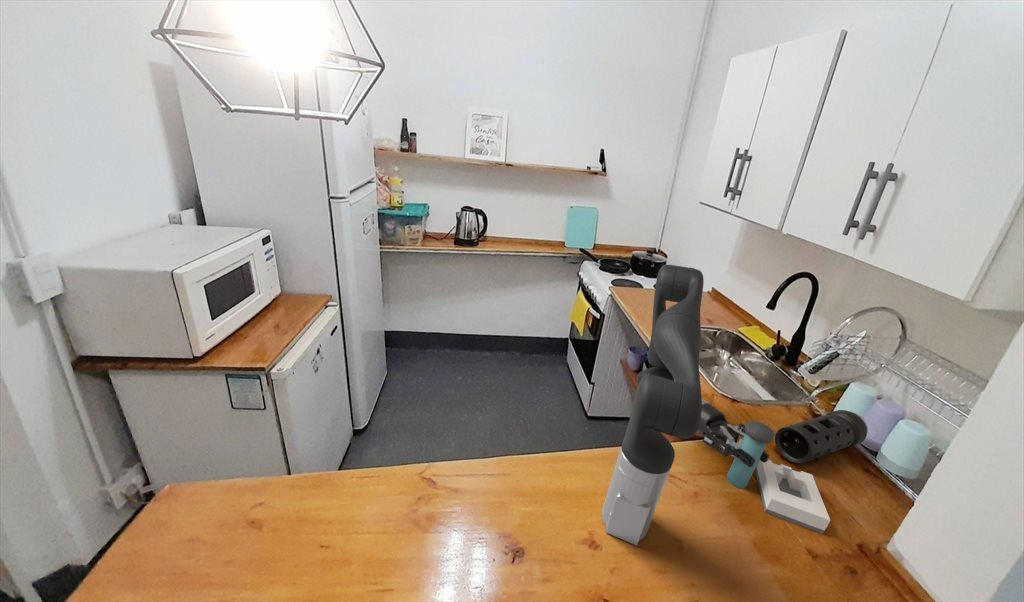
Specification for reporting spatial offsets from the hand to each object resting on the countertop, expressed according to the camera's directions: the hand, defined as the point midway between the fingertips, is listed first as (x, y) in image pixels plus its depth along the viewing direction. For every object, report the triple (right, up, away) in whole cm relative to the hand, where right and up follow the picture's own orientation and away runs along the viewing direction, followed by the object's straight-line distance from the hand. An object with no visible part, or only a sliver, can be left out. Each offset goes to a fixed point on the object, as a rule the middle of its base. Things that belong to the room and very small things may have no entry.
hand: (760, 461), depth 90 cm
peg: (-2, -7, +5) cm, 9 cm away
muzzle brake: (+28, -5, +21) cm, 35 cm away
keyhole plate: (+7, -10, +2) cm, 12 cm away
